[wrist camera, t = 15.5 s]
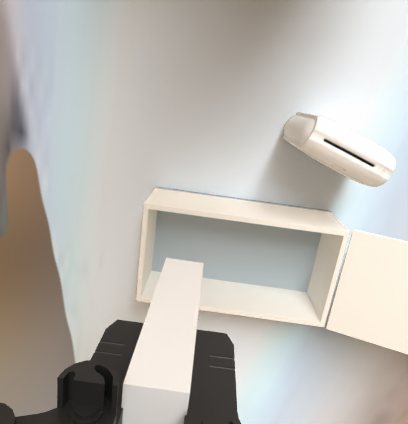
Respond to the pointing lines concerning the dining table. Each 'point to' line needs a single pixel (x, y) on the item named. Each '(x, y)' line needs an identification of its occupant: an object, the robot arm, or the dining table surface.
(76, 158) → the dining table surface
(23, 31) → the dining table surface
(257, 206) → the box
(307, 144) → the photo printer
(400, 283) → the mailer lid
